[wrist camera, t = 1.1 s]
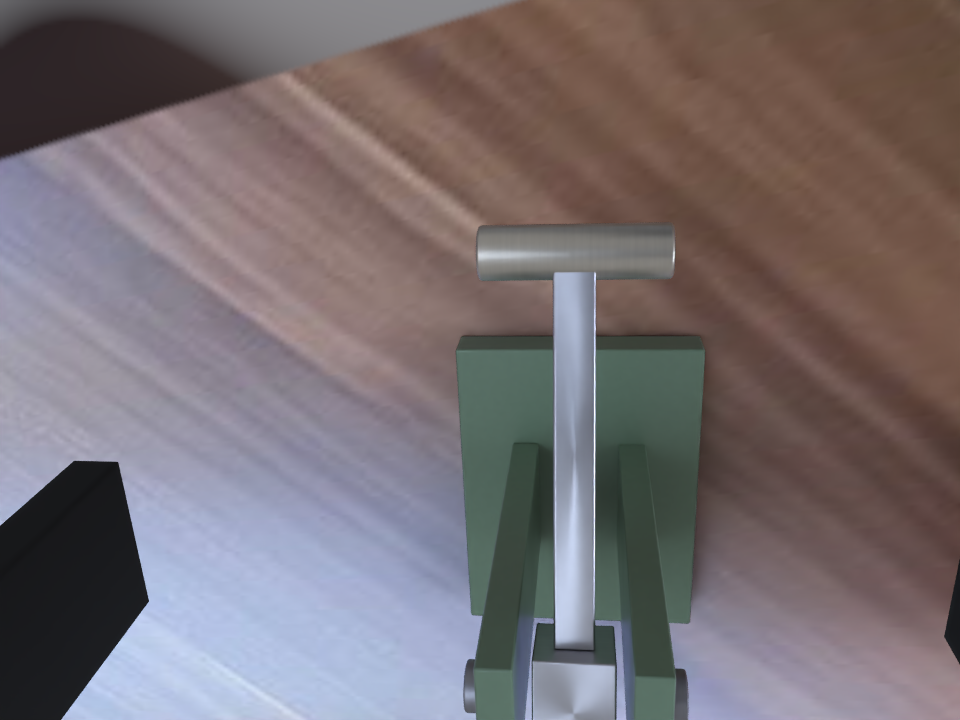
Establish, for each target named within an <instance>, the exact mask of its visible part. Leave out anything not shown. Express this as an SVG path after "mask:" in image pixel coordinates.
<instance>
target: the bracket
mask: <svg viewBox="0 0 960 720" xmlns="http://www.w3.org/2000/svg"><path fill="white" fill-rule="evenodd" d="M456 364H457V381H458V398H459V415H460V432H461V449H462V466H463V483H464V500H465V517H466V534H467V551H468V568H469V585H470V602H471V614H472V615H479V616H483V617H482V623H481V628H480V634H479V640H478V646H477V651H476V657H475V659H469V660H468V661H467V663H466V668H465V675H464V691H463V698H464V709H465V712H467V713H476V720H525V710H526V699H527V688H528V677H529V666H530V654H531V643H532V632H533V621H534V618H554V532H553V336H463V337H461V339H460V342H459V344H458V347H457V349H456ZM704 364H705V349H704V346H703V343H702V341H701V338H700V337H699V336H596V502H595V620H607V621H621V627H622V645H623V664H624V683H625V701H626V720H688V713H689V697H688V682H687V675H686V671H685V670H684V669H675V666H674V658H673V651H672V643H671V635H670V628H669V623H684V624H688V623H689V622H690V613H691V595H692V577H693V560H694V542H695V524H696V506H697V489H698V471H699V453H700V435H701V418H702V400H703V382H704Z"/></svg>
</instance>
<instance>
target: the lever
mask: <svg viewBox="0 0 960 720" xmlns="http://www.w3.org/2000/svg"><path fill="white" fill-rule="evenodd" d="M675 257H676V237H675V228H674V225H673V223H671V222H649V223H592V224H534V225H482V226H480V227H479V228H478V231H477V236H476V266H477V274H478V277H479V279H480V280H482V281H507V280H553V532H554V624H545V623H538V624H537V627H536V635H535V642H534V649H533V656H532V720H616V692H617V663H616V649H615V635H614V627H613V626H596V625H595V502H596V280H613V279H670V278H672V277H673V275H674V270H675Z"/></svg>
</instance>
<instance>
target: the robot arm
mask: <svg viewBox="0 0 960 720" xmlns="http://www.w3.org/2000/svg"><path fill="white" fill-rule="evenodd" d="M148 602H149V599H148V595H147V590H146V586H145V581H144V577H143V572H142V568H141V563H140V559H139V554H138V550H137V545H136V541H135V536H134V532H133V527H132V522H131V518H130V513H129V509H128V504H127V500H126V495H125V491H124V486H123V482H122V477H121V473H120V468H119V464H118V462H99V461H73V462H72V463H71V464H70V465H69V466H68V467H67V468H65V469H64V470H63V471H62V472H61V473H60V474H59V475H58V476H56V477H55V478H54V479H53V480H52V481H51V482H50V483H48V484H47V485H46V486H45V487H44V488H43V489H42V490H40V491H39V492H38V493H37V494H36V495H35V496H34V497H32V498H31V499H30V500H29V501H28V502H27V503H26V504H25V505H23V506H22V507H21V508H20V509H19V510H18V511H17V512H15V513H14V514H13V515H12V516H11V517H10V518H9V519H7V520H6V521H5V522H4V523H3V524H2V525H1V526H0V720H61V719H62V718H63V716H64V715H65V714H66V712H67V711H68V710H69V708H70V707H71V706H72V704H73V703H74V702H75V700H76V699H77V698H78V696H79V695H80V693H81V692H82V691H83V689H84V688H85V687H86V685H87V684H88V683H89V681H90V680H91V679H92V677H93V676H94V675H95V673H96V672H97V671H98V669H99V668H100V667H101V665H102V664H103V663H104V661H105V660H106V658H107V657H108V656H109V654H110V653H111V652H112V650H113V649H114V648H115V646H116V645H117V644H118V642H119V641H120V640H121V638H122V637H123V636H124V634H125V633H126V632H127V630H128V629H129V628H130V626H131V625H132V623H133V622H134V621H135V619H136V618H137V617H138V615H139V614H140V613H141V611H142V610H143V609H144V607H145V606H146V605H147V603H148ZM944 637H945V639H946V641H947V642H948V644H949V646H950V648H951V650H952V651H953V653H954V655H955V657H956V658H957V660H958V662H959V664H960V560H959V565H958V570H957V575H956V580H955V585H954V590H953V595H952V600H951V605H950V610H949V615H948V620H947V625H946V630H945V635H944Z"/></svg>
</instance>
